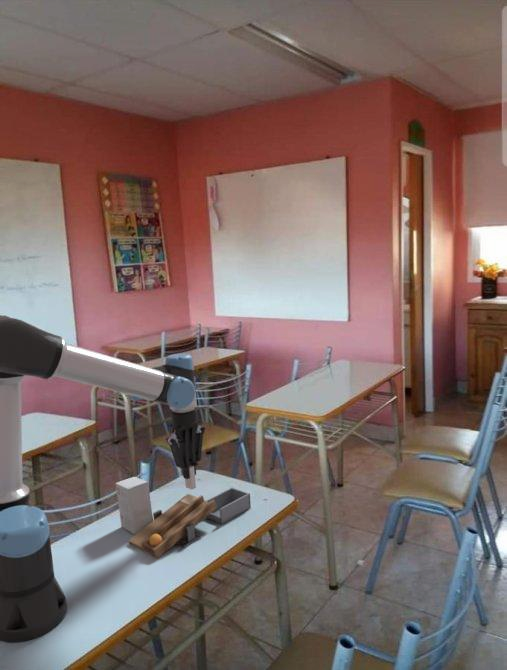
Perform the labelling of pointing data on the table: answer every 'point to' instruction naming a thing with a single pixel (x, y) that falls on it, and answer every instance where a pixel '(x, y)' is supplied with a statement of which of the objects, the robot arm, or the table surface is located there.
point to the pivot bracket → (187, 538)
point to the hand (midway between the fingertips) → (190, 487)
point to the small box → (134, 504)
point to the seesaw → (173, 524)
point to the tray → (229, 505)
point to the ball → (155, 540)
